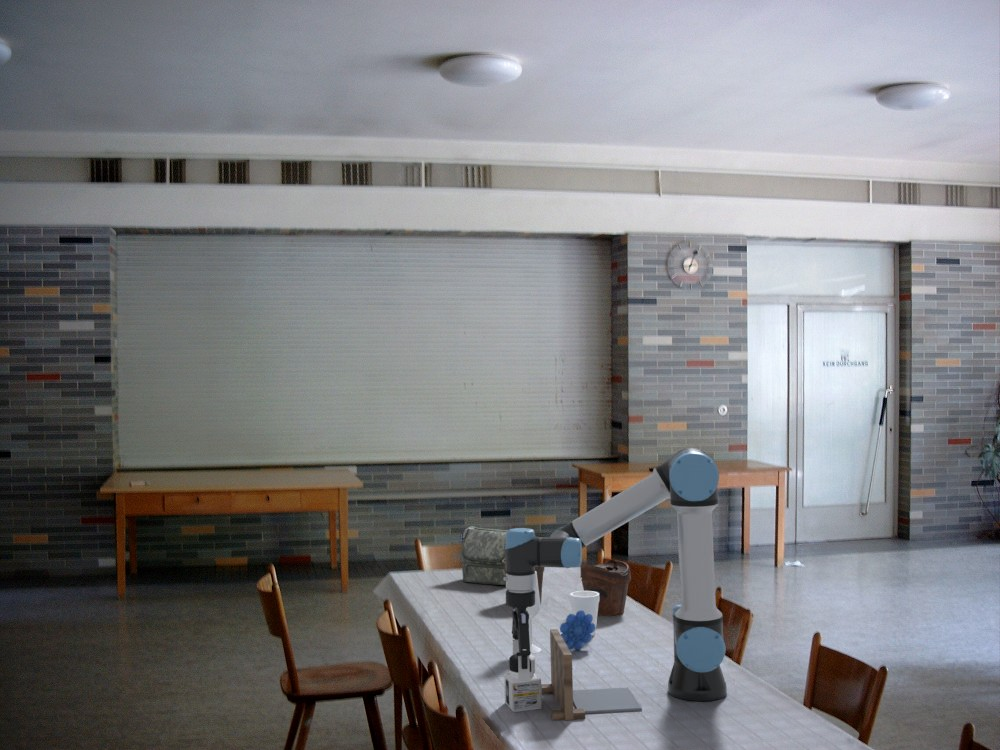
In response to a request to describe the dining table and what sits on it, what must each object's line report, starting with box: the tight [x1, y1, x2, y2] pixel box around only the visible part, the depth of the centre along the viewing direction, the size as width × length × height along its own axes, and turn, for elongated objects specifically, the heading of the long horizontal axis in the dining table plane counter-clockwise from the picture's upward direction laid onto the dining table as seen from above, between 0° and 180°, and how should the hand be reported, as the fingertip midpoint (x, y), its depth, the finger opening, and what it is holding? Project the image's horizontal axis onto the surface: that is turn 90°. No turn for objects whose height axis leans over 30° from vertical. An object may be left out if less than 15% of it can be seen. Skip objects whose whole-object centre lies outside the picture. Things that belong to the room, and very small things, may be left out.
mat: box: [573, 687, 643, 714], centre depth 251 cm, size 16×16×1 cm
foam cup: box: [569, 590, 599, 637], centre depth 316 cm, size 10×9×13 cm
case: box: [579, 559, 632, 617], centre depth 345 cm, size 18×20×18 cm
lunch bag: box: [458, 525, 509, 587], centre depth 400 cm, size 26×18×22 cm
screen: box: [541, 628, 586, 721], centre depth 250 cm, size 24×8×16 cm, turn 5°
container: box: [503, 653, 543, 713], centre depth 249 cm, size 8×8×13 cm
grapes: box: [559, 611, 597, 651], centre depth 299 cm, size 12×7×12 cm, turn 103°
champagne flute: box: [523, 571, 542, 654], centre depth 299 cm, size 7×7×24 cm
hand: (521, 672), depth 249 cm, fingers open, 13 cm apart
